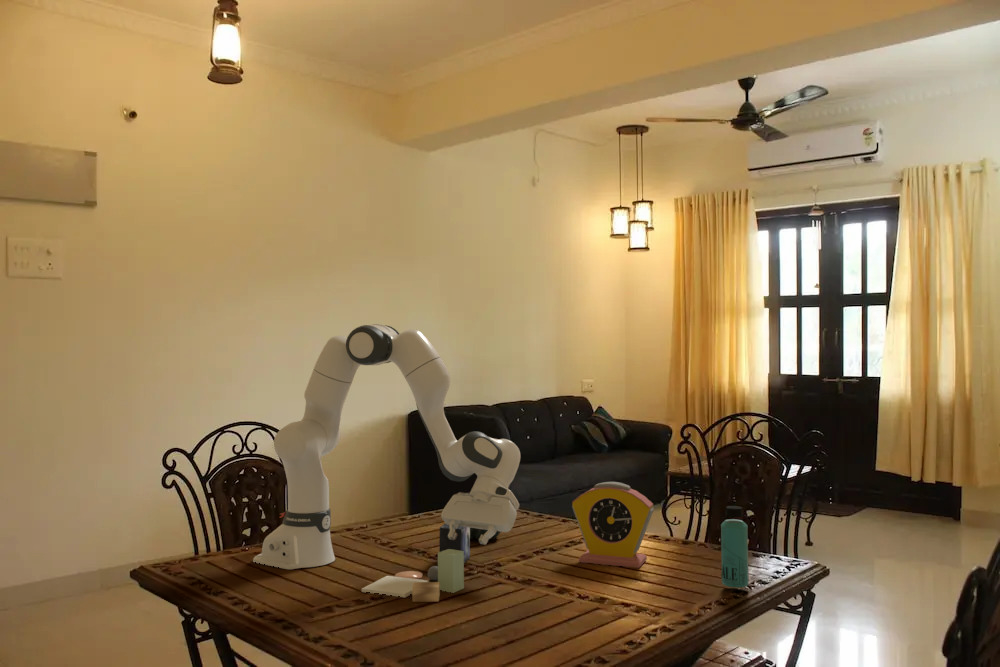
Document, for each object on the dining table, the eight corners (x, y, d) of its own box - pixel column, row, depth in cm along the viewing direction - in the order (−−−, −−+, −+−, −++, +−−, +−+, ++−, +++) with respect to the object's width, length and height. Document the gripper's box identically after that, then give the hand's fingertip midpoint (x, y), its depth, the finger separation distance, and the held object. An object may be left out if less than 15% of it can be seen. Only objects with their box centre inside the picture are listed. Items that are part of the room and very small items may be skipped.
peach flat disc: (389, 580, 208) (389, 576, 208) (403, 573, 215) (403, 570, 215) (414, 582, 206) (414, 579, 206) (427, 575, 212) (427, 572, 212)
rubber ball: (425, 581, 205) (424, 567, 205) (431, 578, 209) (431, 563, 209) (437, 583, 204) (437, 568, 204) (444, 579, 207) (444, 565, 207)
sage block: (437, 590, 198) (437, 552, 198) (448, 585, 202) (448, 548, 202) (453, 593, 196) (452, 555, 196) (463, 588, 200) (463, 551, 200)
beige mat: (361, 591, 197) (361, 588, 197) (387, 578, 208) (387, 575, 208) (405, 597, 192) (405, 594, 192) (429, 583, 203) (429, 580, 203)
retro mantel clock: (569, 562, 223) (568, 482, 224) (578, 554, 232) (578, 477, 232) (649, 569, 215) (648, 487, 215) (656, 561, 223) (655, 482, 224)
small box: (461, 568, 218) (461, 528, 218) (438, 566, 219) (438, 527, 220) (471, 557, 228) (471, 520, 229) (448, 556, 230) (448, 519, 230)
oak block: (412, 602, 189) (412, 587, 189) (414, 597, 193) (414, 582, 193) (438, 602, 189) (438, 587, 189) (439, 596, 193) (439, 582, 193)
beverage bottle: (749, 587, 198) (748, 504, 199) (748, 595, 192) (747, 509, 192) (722, 585, 201) (721, 503, 201) (720, 592, 194) (719, 508, 195)
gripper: (450, 484, 217) (427, 528, 208) (515, 491, 206) (495, 538, 197) (459, 498, 220) (438, 542, 212) (525, 506, 209) (505, 552, 201)
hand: (466, 540), depth 205 cm, fingers open, 8 cm apart
